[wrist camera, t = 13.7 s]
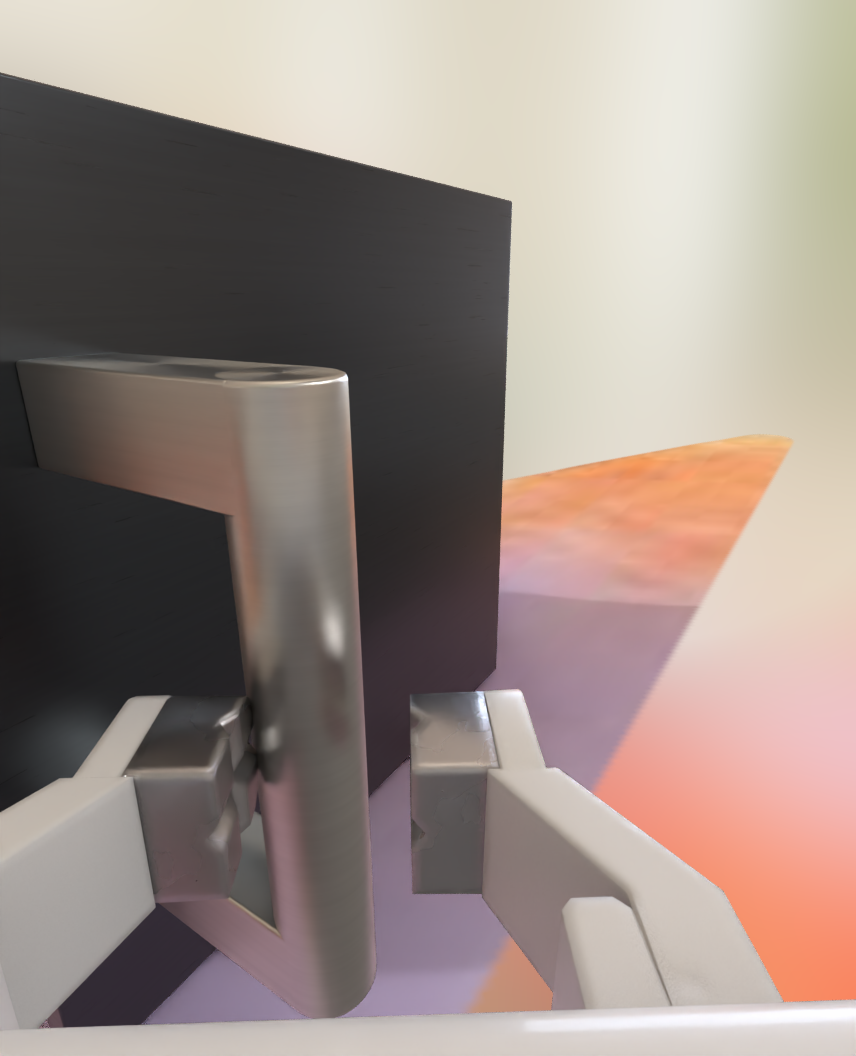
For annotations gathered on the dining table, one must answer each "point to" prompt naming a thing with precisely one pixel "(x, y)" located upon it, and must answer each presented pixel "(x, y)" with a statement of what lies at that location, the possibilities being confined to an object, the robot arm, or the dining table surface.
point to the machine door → (242, 494)
